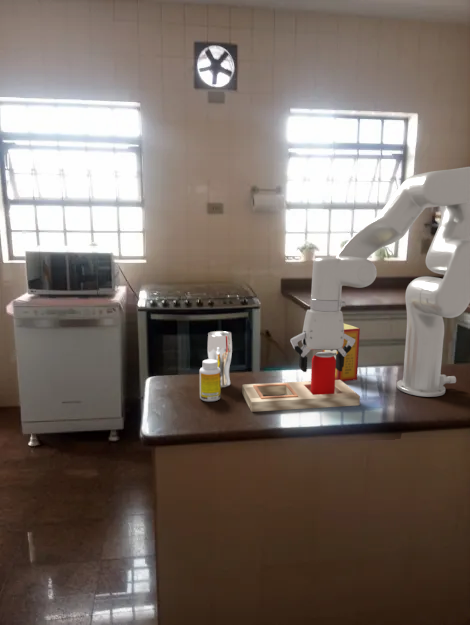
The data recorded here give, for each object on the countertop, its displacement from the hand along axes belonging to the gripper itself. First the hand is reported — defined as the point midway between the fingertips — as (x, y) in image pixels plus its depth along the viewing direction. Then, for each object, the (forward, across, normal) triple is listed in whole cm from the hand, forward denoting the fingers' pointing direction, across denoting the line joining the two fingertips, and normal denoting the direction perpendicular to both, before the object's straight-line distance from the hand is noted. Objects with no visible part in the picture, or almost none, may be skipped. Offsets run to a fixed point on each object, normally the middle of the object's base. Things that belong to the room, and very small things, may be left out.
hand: (321, 370), depth 119 cm
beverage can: (+8, -1, 0) cm, 8 cm away
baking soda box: (+7, -12, -17) cm, 22 cm away
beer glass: (+8, +25, -15) cm, 30 cm away
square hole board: (+8, +6, 0) cm, 10 cm away
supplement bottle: (+9, +29, -4) cm, 30 cm away
